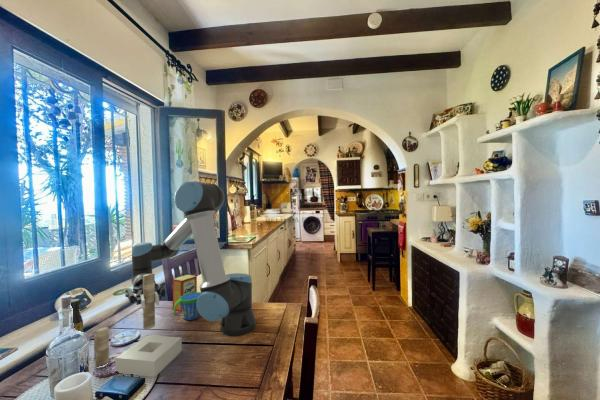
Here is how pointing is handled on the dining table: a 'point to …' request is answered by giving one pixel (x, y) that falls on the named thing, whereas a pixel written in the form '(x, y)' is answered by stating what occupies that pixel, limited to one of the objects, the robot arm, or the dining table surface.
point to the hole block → (148, 355)
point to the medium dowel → (102, 346)
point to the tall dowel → (149, 301)
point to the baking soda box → (183, 288)
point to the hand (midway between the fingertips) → (150, 302)
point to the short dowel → (94, 346)
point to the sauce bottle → (77, 315)
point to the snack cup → (189, 305)
